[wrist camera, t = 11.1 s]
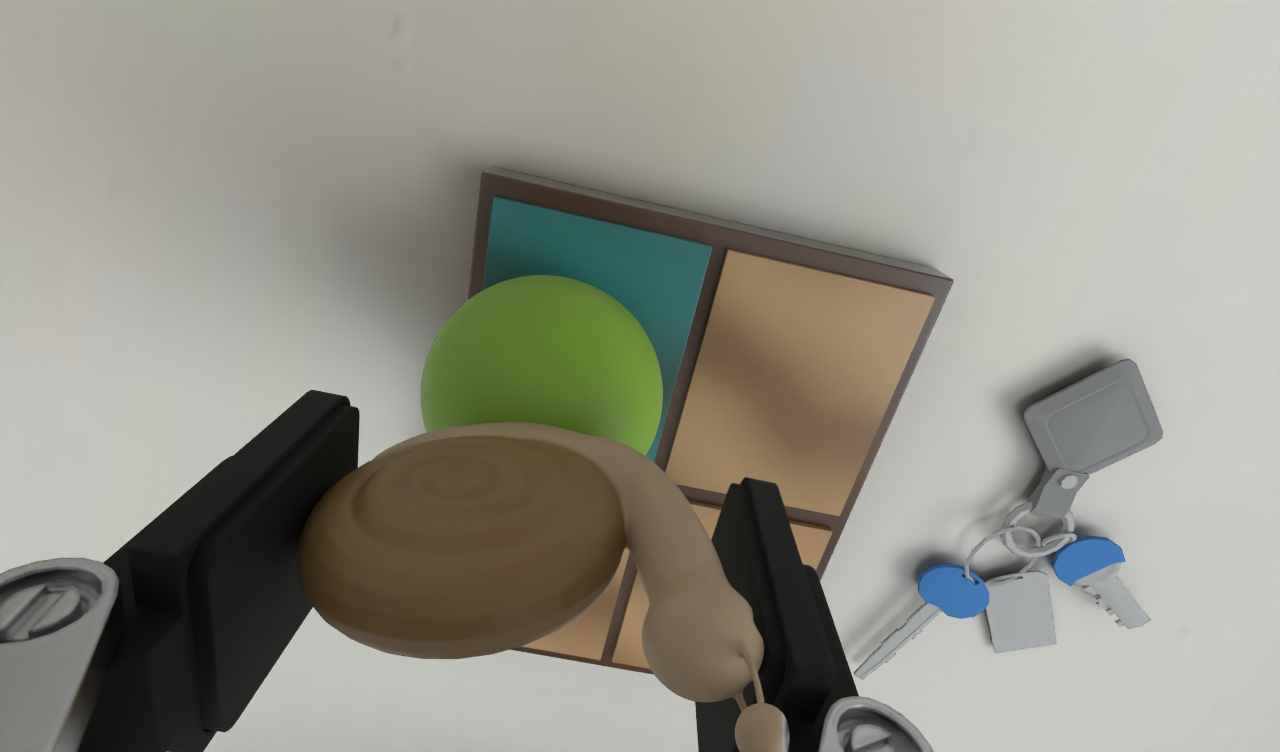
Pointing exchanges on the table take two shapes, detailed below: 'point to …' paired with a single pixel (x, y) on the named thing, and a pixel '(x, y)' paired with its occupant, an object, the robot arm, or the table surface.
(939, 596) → the key chain
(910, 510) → the table surface
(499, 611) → the snail figurine
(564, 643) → the game board
